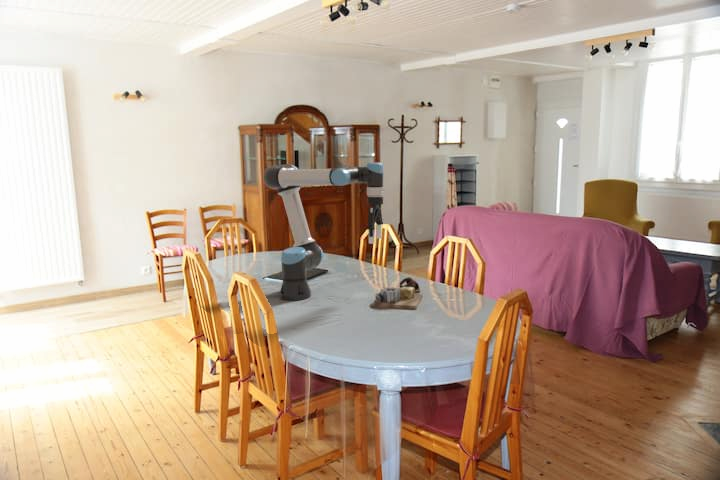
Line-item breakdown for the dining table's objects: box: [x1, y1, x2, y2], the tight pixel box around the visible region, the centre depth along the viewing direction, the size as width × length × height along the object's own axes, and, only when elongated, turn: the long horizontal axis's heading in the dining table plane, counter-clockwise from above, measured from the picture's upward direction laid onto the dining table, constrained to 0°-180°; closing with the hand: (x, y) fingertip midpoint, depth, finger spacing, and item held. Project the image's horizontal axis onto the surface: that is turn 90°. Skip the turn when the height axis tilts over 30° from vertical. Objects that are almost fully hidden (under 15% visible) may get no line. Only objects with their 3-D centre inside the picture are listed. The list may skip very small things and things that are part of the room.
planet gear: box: [380, 286, 401, 303], centre depth 256 cm, size 9×9×5 cm
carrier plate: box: [371, 287, 424, 310], centre depth 259 cm, size 20×20×6 cm
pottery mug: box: [399, 277, 421, 294], centre depth 276 cm, size 12×10×8 cm
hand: (375, 240), depth 264 cm, fingers open, 13 cm apart
